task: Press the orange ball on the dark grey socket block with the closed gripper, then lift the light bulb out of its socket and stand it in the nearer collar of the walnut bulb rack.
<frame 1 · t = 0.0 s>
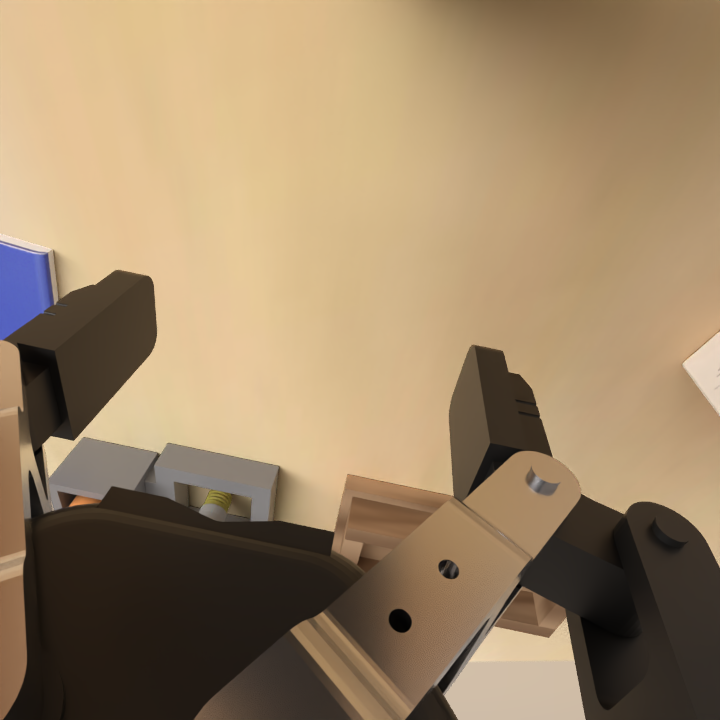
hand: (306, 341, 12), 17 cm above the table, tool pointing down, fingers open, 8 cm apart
bulb rack: (453, 538, 44), on the table
blue book: (12, 305, 35), on the table
orange ball: (91, 519, 39), point 5 cm above the table, slide at 0.0 cm
light bulb: (224, 489, 44), resting in bulb socket block
bulb socket block: (223, 490, 44), on the table
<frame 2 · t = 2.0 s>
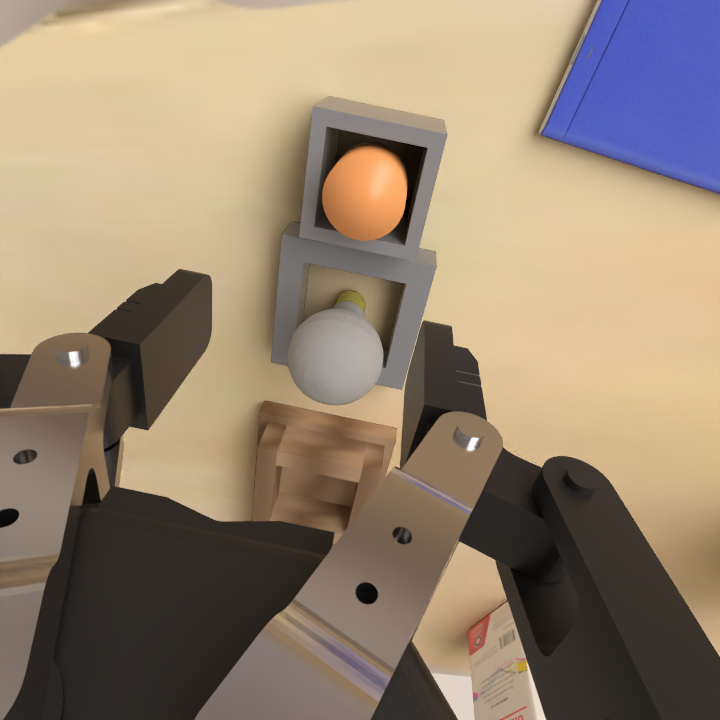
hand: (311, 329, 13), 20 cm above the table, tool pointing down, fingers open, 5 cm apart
ink cartridge box: (508, 618, 53), on the table
bulb rack: (315, 498, 46), on the table
blue book: (680, 86, 26), on the table
orange ball: (367, 190, 25), point 5 cm above the table, slide at 0.0 cm
light bulb: (352, 300, 34), resting in bulb socket block
bulb socket block: (351, 301, 34), on the table
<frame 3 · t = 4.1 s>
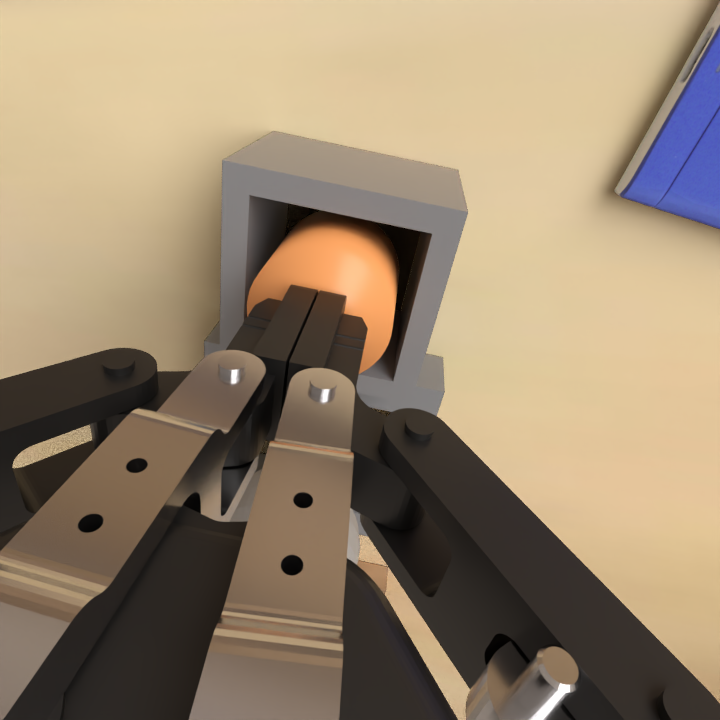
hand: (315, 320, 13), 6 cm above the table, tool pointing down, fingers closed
bulb rack: (283, 635, 35), on the table
orange ball: (329, 292, 15), point 5 cm above the table, slide at 0.6 cm, touching gripper
light bulb: (321, 414, 24), resting in bulb socket block
bulb socket block: (320, 417, 24), on the table
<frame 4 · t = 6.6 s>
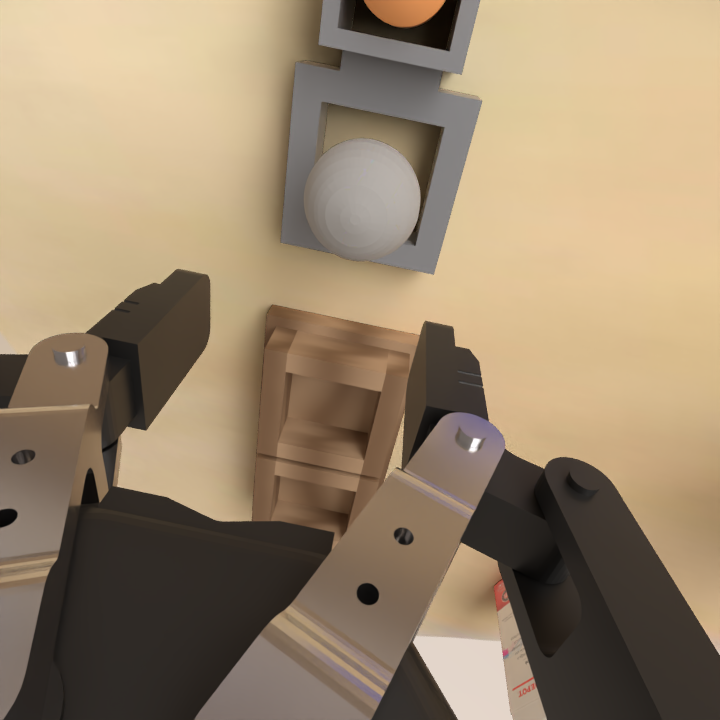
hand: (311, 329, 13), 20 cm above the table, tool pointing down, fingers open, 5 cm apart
ink cartridge box: (539, 571, 48), on the table
bulb rack: (328, 428, 41), on the table
light bulb: (375, 168, 29), resting in bulb socket block
bulb socket block: (375, 168, 29), on the table
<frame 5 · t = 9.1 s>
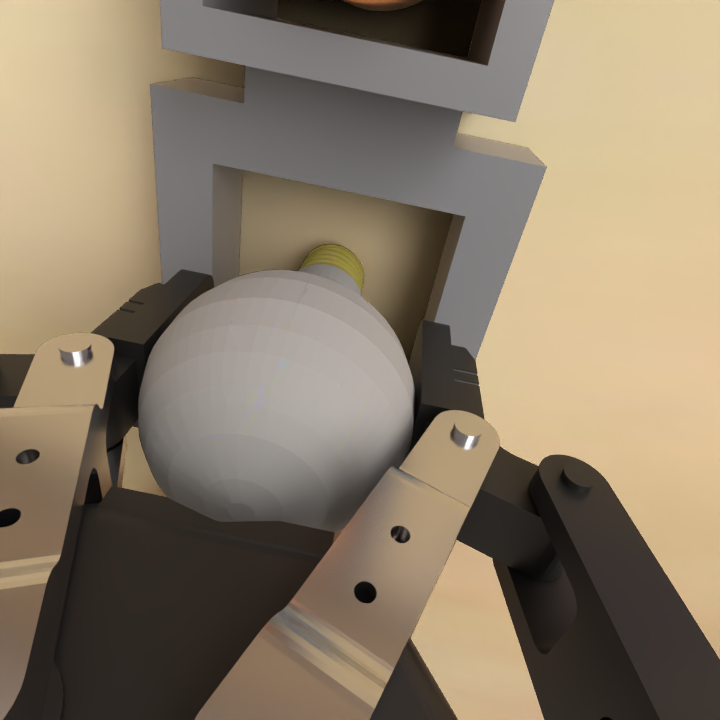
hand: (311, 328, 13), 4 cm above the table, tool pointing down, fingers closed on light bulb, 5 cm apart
light bulb: (336, 267, 16), resting in bulb socket block, touching gripper
bulb socket block: (335, 269, 16), on the table
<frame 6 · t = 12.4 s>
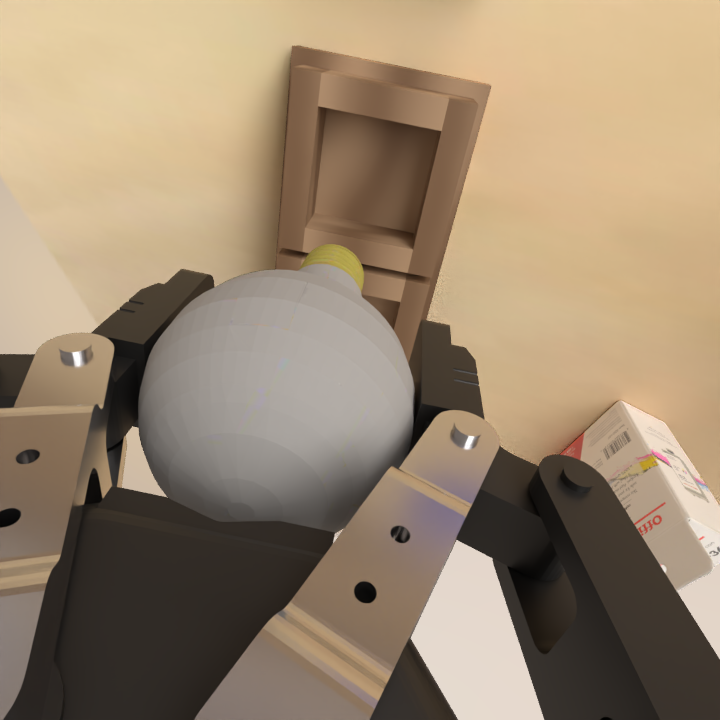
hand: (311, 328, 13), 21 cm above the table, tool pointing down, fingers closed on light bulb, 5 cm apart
ink cartridge box: (605, 441, 41), on the table
bulb rack: (362, 241, 33), on the table
light bulb: (336, 267, 16), point 17 cm above the table, touching gripper
when the fingers open (6 cm above the table, at t = 15.7 s): light bulb stays where it is, resting on bulb rack.
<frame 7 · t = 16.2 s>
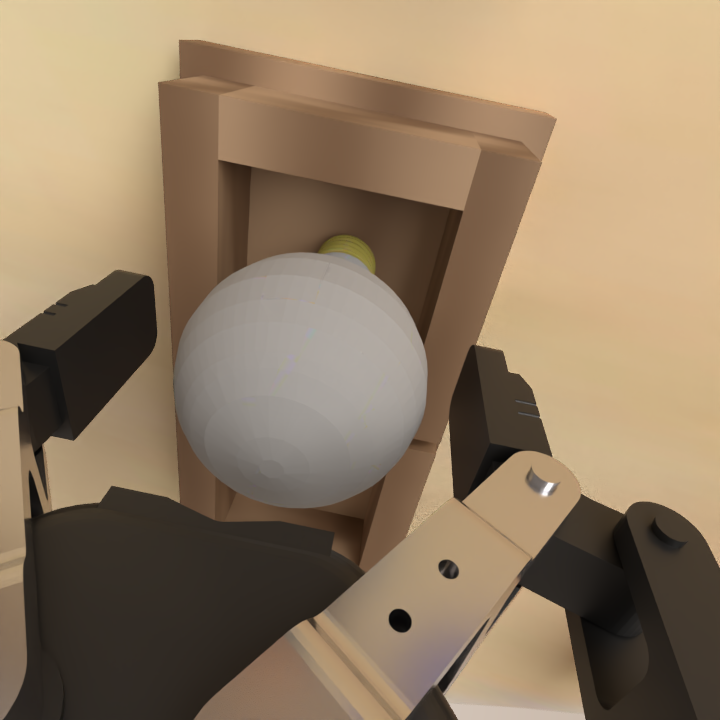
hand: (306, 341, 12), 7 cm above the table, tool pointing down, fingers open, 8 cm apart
bulb rack: (327, 353, 21), on the table
light bulb: (348, 257, 17), point 1 cm above the table, touching bulb rack
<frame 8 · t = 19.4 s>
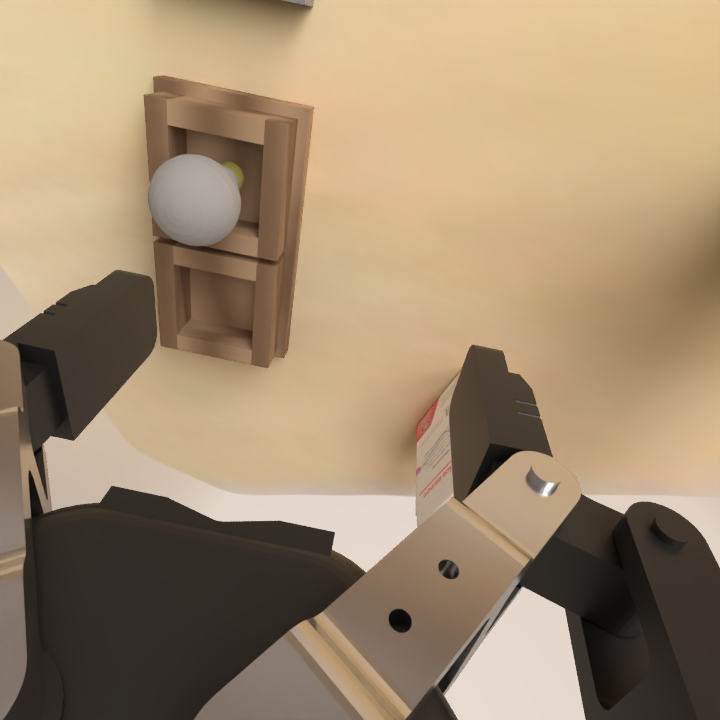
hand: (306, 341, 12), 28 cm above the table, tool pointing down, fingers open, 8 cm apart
ink cartridge box: (459, 405, 48), on the table
bulb rack: (234, 232, 41), on the table
light bulb: (234, 174, 37), point 1 cm above the table, touching bulb rack
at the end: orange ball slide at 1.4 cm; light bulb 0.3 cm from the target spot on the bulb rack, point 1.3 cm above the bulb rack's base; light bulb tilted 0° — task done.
